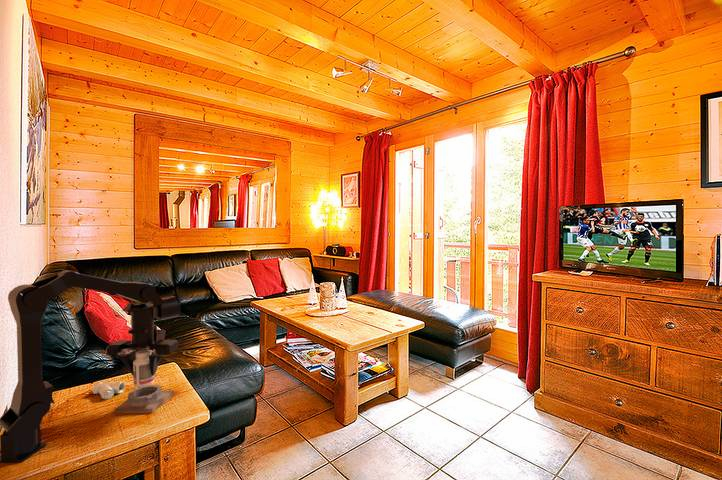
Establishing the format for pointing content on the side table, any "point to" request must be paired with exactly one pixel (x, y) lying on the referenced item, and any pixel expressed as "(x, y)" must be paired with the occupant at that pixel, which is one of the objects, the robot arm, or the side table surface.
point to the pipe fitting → (108, 388)
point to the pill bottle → (142, 369)
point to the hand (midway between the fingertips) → (144, 375)
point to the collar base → (145, 408)
